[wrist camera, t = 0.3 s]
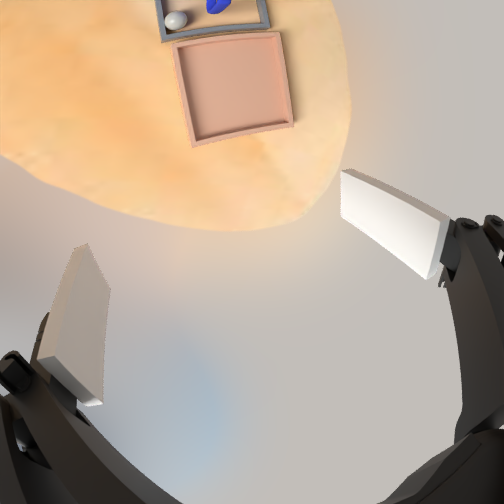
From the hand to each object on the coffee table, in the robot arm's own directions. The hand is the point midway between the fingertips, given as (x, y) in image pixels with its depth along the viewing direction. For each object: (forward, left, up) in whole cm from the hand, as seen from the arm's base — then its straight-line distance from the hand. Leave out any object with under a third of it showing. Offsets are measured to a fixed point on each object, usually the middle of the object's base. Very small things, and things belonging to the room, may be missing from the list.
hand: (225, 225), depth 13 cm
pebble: (-19, +3, -27) cm, 33 cm away
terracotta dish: (-7, +9, -27) cm, 29 cm away
